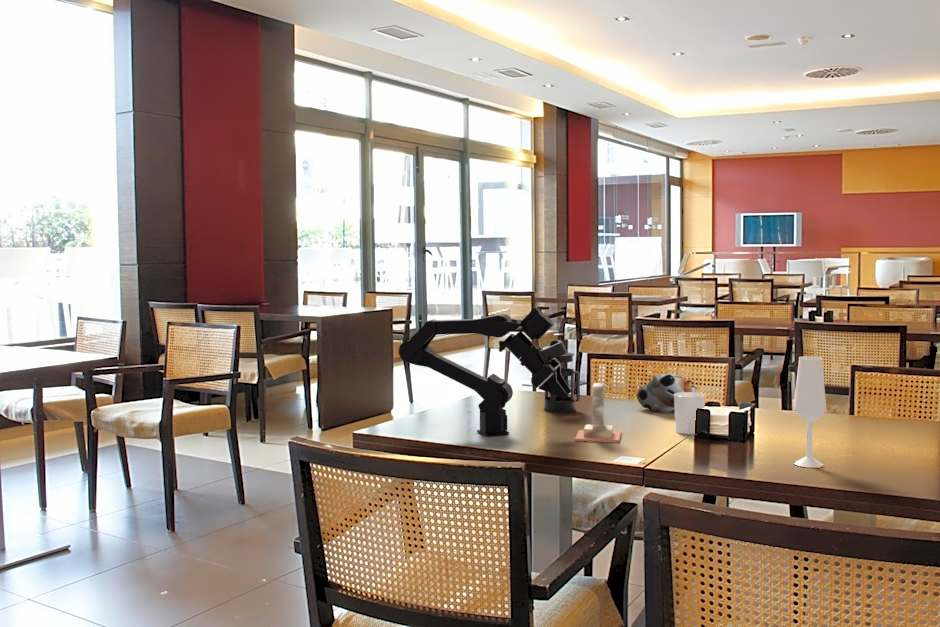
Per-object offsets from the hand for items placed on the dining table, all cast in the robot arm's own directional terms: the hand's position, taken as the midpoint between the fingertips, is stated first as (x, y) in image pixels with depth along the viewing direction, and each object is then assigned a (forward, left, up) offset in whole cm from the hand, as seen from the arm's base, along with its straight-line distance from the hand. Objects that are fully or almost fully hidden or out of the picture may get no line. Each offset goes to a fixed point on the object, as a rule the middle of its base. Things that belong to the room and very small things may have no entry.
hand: (568, 395), depth 229 cm
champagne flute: (+29, -52, -11) cm, 60 cm away
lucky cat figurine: (+45, +15, -11) cm, 49 cm away
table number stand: (+6, -5, -10) cm, 13 cm away
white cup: (+30, -12, -11) cm, 34 cm away
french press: (+19, +32, -11) cm, 39 cm away
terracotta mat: (+6, -5, -11) cm, 13 cm away
